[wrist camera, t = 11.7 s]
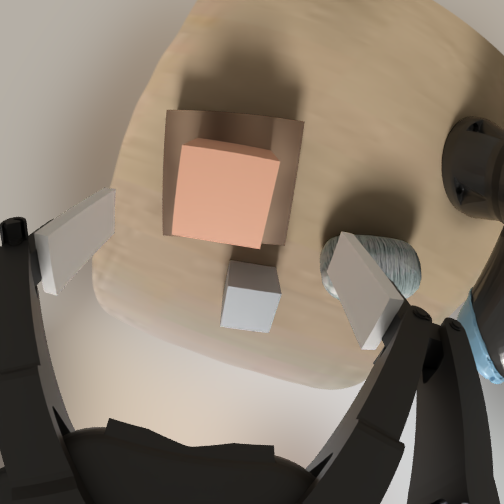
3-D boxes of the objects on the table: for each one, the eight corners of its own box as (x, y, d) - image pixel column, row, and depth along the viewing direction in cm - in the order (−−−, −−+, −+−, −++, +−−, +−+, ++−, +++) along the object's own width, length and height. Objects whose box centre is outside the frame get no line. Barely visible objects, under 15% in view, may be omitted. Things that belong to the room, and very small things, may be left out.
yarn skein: (430, 230, 31) (440, 296, 25) (398, 270, 39) (399, 330, 33) (336, 198, 32) (328, 263, 26) (316, 246, 40) (304, 306, 34)
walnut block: (294, 121, 29) (304, 121, 24) (279, 227, 34) (284, 245, 30) (178, 110, 27) (166, 109, 23) (173, 218, 33) (162, 235, 29)
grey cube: (275, 267, 36) (281, 294, 31) (265, 303, 39) (268, 332, 34) (229, 259, 36) (227, 286, 30) (222, 297, 38) (220, 326, 33)
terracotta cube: (270, 150, 25) (280, 161, 19) (255, 217, 28) (259, 249, 22) (197, 137, 24) (182, 144, 18) (187, 206, 28) (171, 234, 21)
